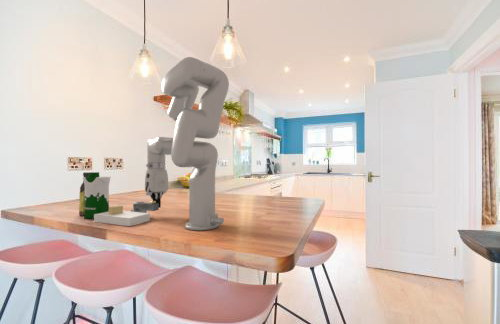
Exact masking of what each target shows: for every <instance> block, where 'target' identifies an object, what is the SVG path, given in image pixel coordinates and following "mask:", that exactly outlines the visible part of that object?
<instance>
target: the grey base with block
mask: <svg viewBox="0 0 500 324" xmlns="http://www.w3.org/2000/svg"><path fill="white" fill-rule="evenodd" d="M123 207H124V206H123V205H121V204H119V205H114V206H109V212H104V213H99V214H94V218H93V222H94V223H101V224H110V225H115V226H116V225H118V226H125V227H126V226H127V227H131V226H136V225H139V224H143V223H146V222H150V221H151V220H150V219H151V215H150V213H148V212H147V213H141V212H131V210H130V211H129V210H124V208H123Z"/></svg>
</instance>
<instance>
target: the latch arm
mask: <svg viewBox="0 0 500 324" xmlns="http://www.w3.org/2000/svg"><path fill="white" fill-rule="evenodd" d="M132 206H133V208H132V210H147V211H148V212H149V211H150V212H155V211H159V203H156V201H153V200H150V202H146V201H134V202H133V205H132Z"/></svg>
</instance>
